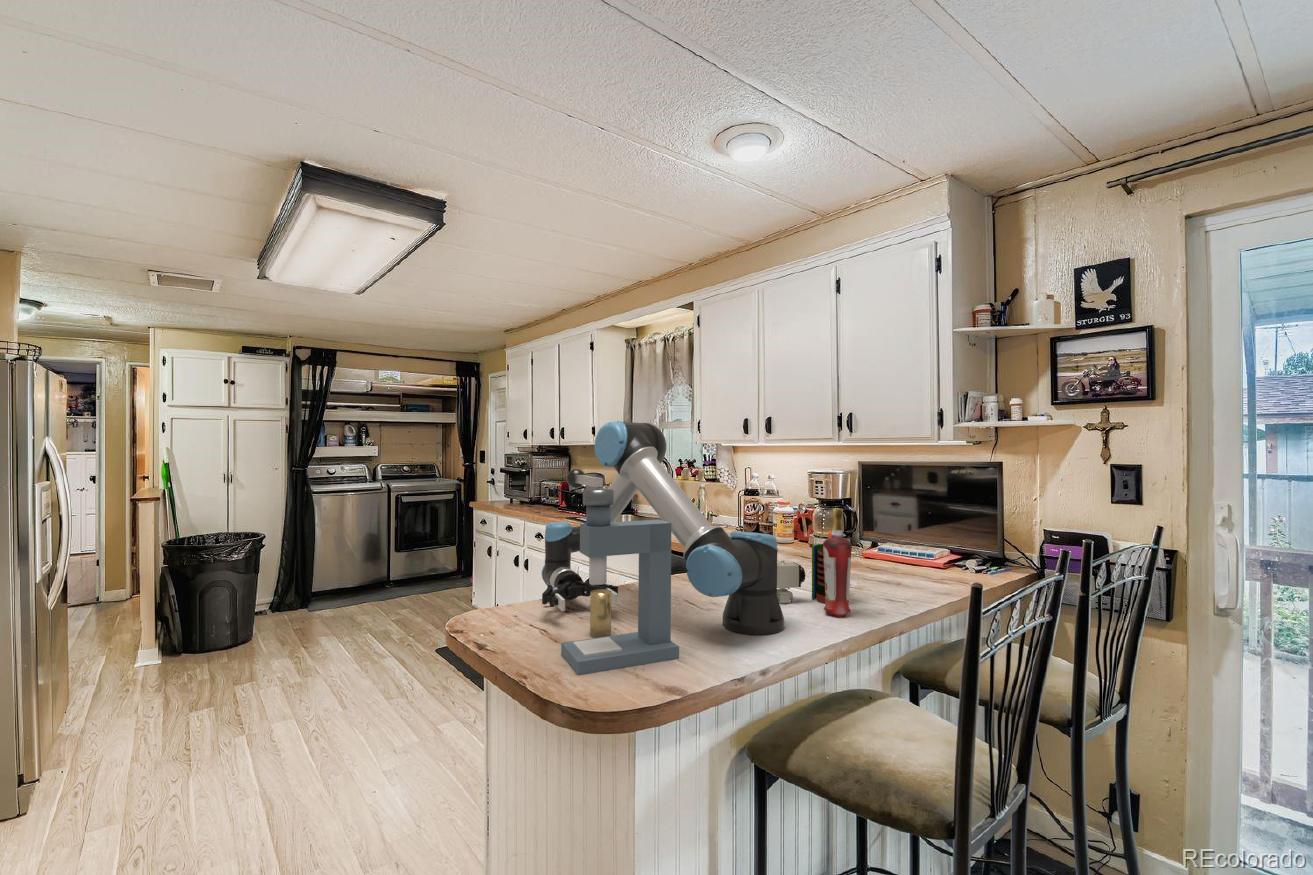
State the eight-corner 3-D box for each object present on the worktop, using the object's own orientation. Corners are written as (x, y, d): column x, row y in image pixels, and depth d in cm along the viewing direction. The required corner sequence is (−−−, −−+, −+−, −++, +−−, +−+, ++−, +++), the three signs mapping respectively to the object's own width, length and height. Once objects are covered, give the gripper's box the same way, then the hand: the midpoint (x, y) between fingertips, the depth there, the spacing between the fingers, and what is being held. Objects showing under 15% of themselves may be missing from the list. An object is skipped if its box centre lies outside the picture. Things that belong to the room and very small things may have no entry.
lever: (586, 496, 139) (586, 468, 139) (618, 505, 120) (618, 472, 120) (559, 497, 137) (560, 468, 137) (588, 506, 117) (588, 473, 117)
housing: (612, 631, 139) (613, 589, 139) (609, 638, 134) (609, 595, 135) (592, 630, 140) (592, 588, 140) (587, 637, 135) (588, 594, 135)
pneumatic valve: (805, 603, 165) (805, 561, 165) (766, 605, 163) (766, 562, 163) (797, 598, 171) (797, 557, 171) (759, 600, 168) (759, 558, 169)
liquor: (818, 610, 158) (819, 507, 158) (845, 610, 159) (845, 507, 159) (828, 618, 151) (828, 510, 151) (856, 618, 151) (856, 510, 152)
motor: (810, 602, 166) (811, 532, 166) (813, 595, 174) (813, 528, 175) (848, 606, 163) (848, 534, 163) (848, 598, 171) (848, 530, 171)
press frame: (655, 640, 133) (656, 500, 134) (678, 658, 122) (680, 505, 123) (561, 654, 124) (562, 503, 124) (577, 674, 113) (579, 509, 113)
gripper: (608, 592, 168) (637, 612, 148) (521, 601, 157) (540, 624, 138) (608, 566, 168) (637, 582, 148) (521, 573, 157) (540, 592, 138)
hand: (590, 602), depth 143 cm, fingers open, 13 cm apart
